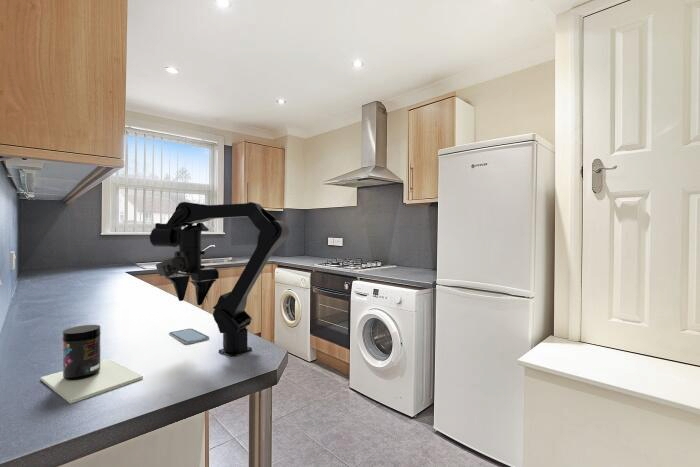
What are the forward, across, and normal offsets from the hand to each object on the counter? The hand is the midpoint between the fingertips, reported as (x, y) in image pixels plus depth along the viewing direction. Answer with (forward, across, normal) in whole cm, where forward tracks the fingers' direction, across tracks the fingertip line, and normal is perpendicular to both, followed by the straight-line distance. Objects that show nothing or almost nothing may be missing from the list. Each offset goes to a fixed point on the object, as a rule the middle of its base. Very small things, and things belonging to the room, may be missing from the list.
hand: (190, 302), depth 93 cm
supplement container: (+13, -3, -24) cm, 27 cm away
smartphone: (+14, -11, +6) cm, 18 cm away
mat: (+13, 0, -23) cm, 26 cm away
